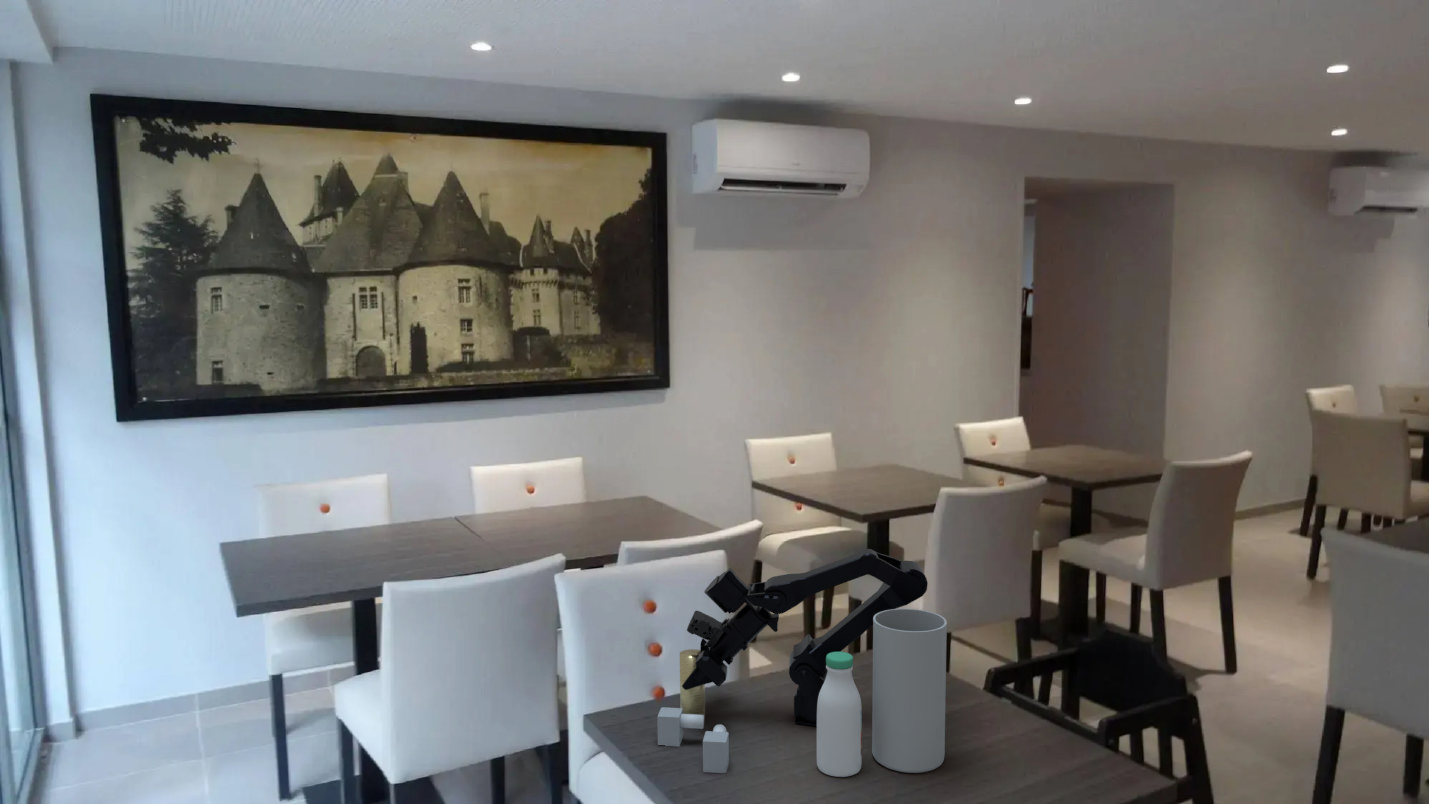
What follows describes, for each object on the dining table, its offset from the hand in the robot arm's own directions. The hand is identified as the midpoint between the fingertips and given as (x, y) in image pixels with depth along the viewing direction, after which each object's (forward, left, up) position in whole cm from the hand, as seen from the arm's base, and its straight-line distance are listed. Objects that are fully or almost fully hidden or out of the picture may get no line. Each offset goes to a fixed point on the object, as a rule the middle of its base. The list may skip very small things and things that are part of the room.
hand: (685, 682), depth 189 cm
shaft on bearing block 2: (-12, +17, -7) cm, 22 cm away
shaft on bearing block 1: (-3, +11, -7) cm, 13 cm away
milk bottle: (-32, +13, -7) cm, 35 cm away
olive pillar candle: (-1, 0, -7) cm, 7 cm away
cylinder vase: (-43, +6, -7) cm, 44 cm away
